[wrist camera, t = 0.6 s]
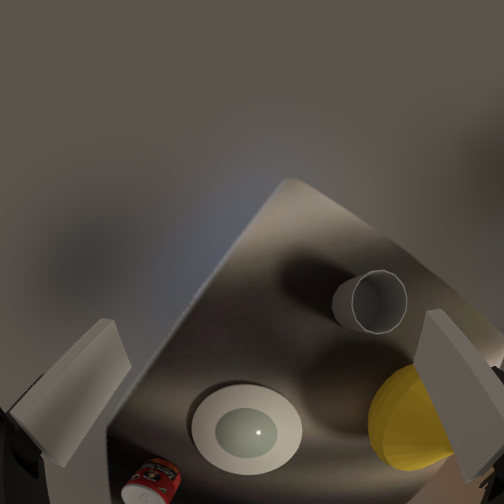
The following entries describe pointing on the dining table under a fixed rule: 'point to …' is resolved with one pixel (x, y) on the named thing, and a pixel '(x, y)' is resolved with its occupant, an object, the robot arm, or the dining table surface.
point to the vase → (406, 423)
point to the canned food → (152, 483)
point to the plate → (246, 429)
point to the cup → (370, 302)
